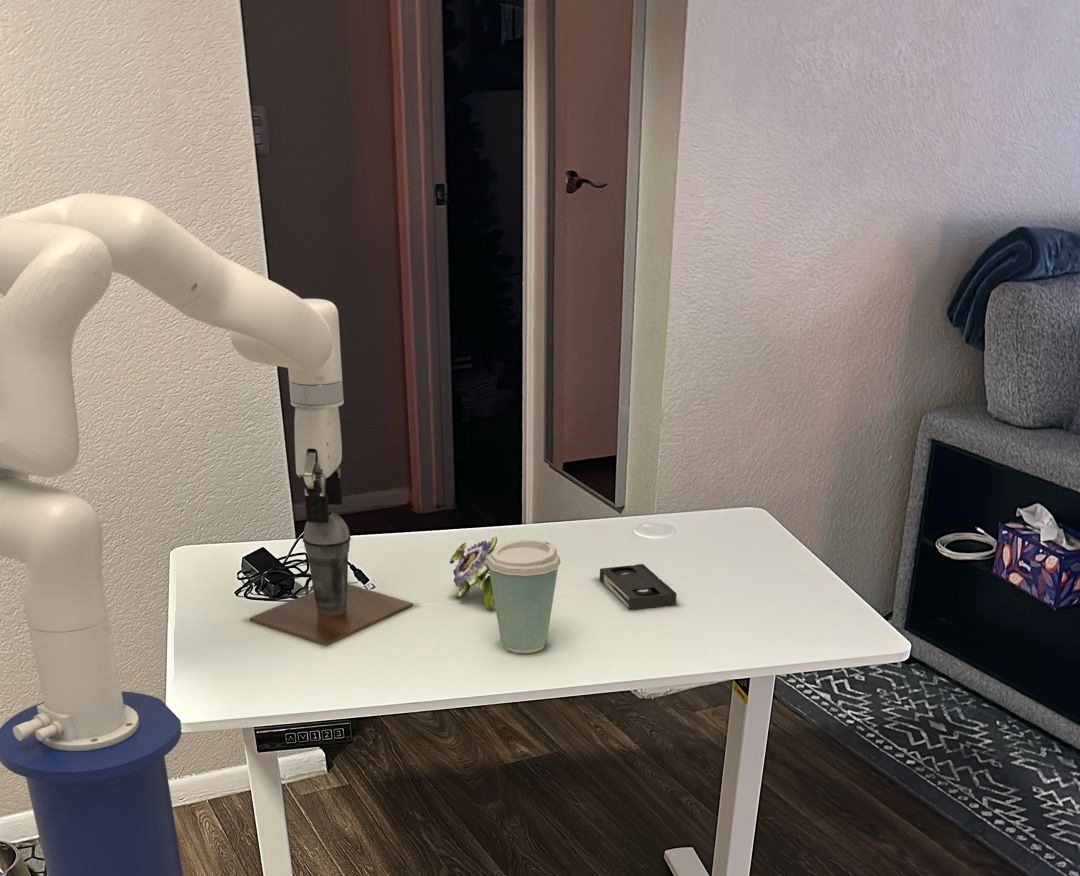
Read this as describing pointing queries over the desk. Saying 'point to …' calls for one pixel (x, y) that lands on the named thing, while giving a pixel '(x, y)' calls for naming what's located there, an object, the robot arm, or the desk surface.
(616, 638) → the desk surface
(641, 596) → the vhs tape
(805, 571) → the desk surface
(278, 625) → the walnut board
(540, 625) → the disposable coffee cup
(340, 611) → the beverage cup
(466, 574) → the passion flower
